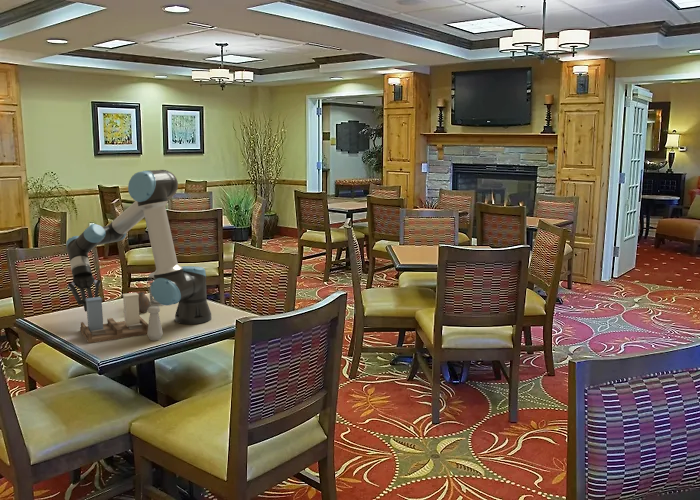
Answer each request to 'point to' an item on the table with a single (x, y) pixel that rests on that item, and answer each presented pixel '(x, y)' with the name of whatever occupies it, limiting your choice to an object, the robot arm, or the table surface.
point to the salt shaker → (154, 324)
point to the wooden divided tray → (114, 330)
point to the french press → (152, 301)
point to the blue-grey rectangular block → (94, 313)
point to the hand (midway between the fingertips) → (91, 317)
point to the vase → (143, 302)
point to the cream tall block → (131, 308)
